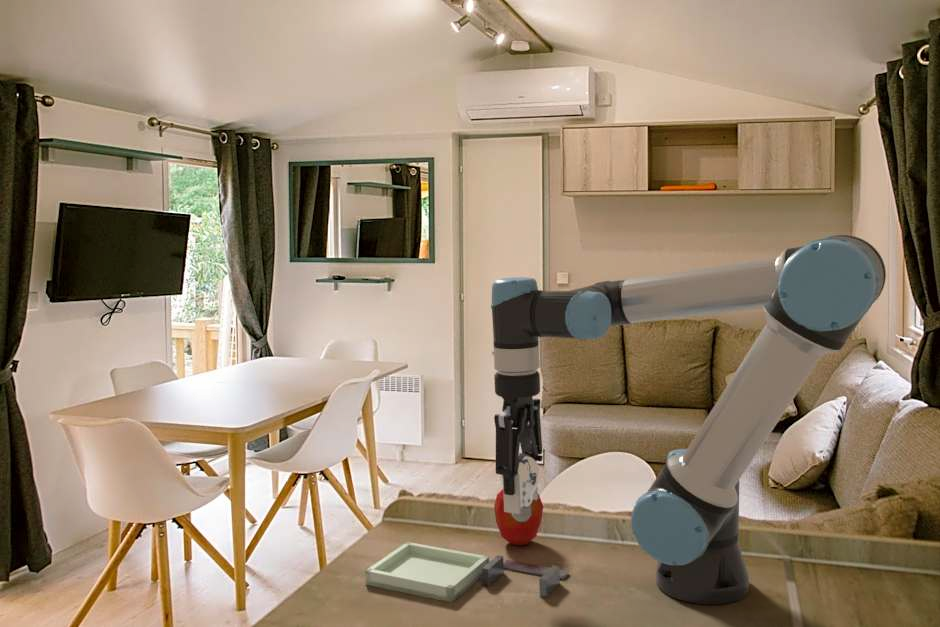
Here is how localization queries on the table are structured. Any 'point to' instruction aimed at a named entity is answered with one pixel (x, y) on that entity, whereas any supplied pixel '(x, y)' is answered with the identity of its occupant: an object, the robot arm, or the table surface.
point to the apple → (514, 529)
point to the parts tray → (427, 571)
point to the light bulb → (526, 485)
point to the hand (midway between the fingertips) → (521, 505)
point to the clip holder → (546, 582)
